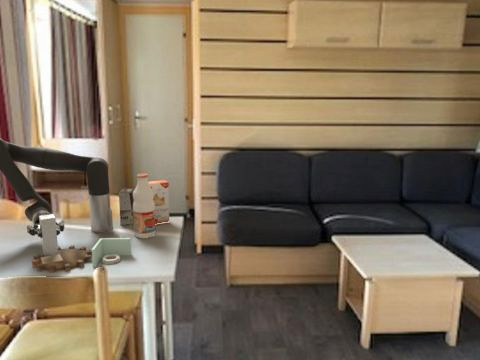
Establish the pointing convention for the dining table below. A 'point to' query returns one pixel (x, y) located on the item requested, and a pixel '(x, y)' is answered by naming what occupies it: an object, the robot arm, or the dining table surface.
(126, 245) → the l-shaped corner panel
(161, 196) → the cracker box
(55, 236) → the brushed metal block
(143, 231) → the fruit juice
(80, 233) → the dining table surface
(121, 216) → the coffee box
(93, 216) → the robot arm
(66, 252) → the sprocket plate
